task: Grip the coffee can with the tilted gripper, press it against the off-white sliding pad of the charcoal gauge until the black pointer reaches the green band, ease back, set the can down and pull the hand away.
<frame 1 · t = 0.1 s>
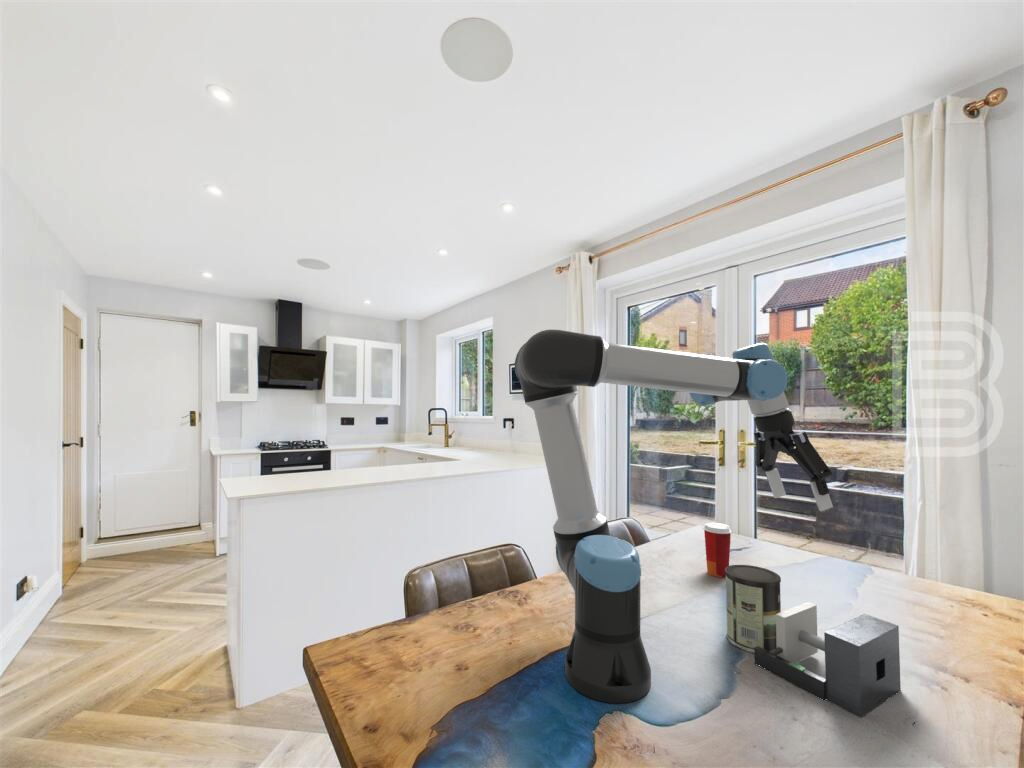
hand: (801, 502, 99), 28 cm above the table, tool tilted 20°, fingers open, 13 cm apart
paper cup: (717, 574, 130), on the table
coffee can: (753, 642, 92), on the table
pressure pad: (819, 647, 80), point 5 cm above the table, slide at 0.0 cm
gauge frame: (828, 677, 80), on the table
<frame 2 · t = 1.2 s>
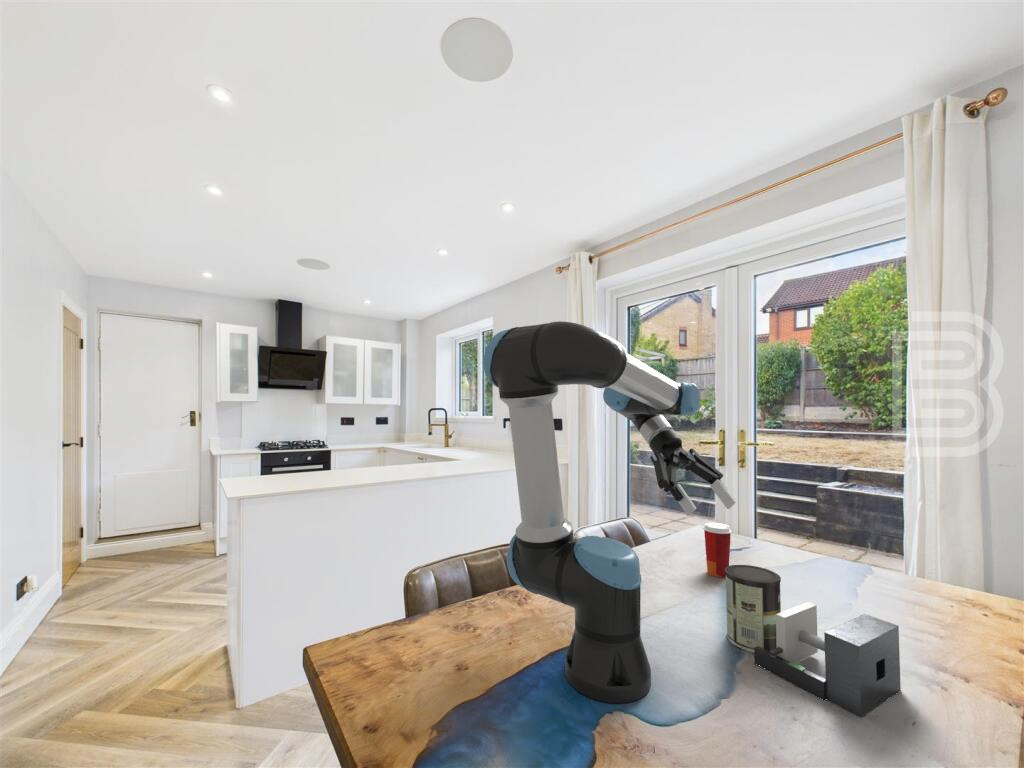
hand: (712, 508, 101), 26 cm above the table, tool tilted 45°, fingers open, 13 cm apart
nothing on the table moved.
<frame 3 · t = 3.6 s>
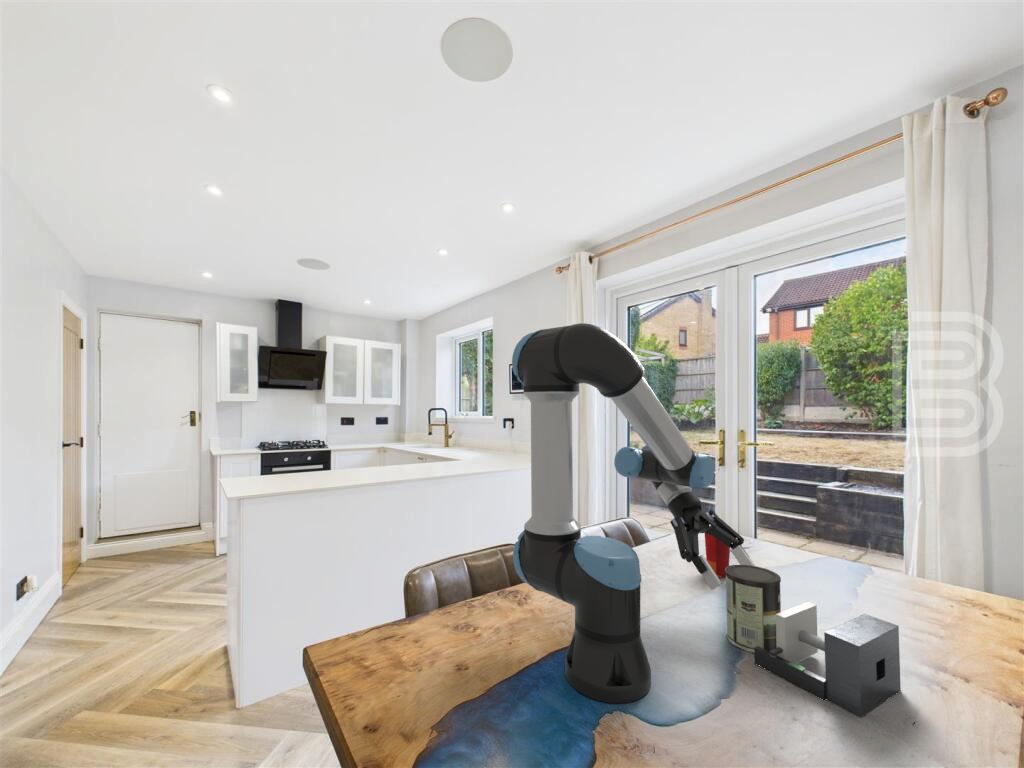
hand: (736, 580, 98), 11 cm above the table, tool tilted 45°, fingers open, 13 cm apart
nothing on the table moved.
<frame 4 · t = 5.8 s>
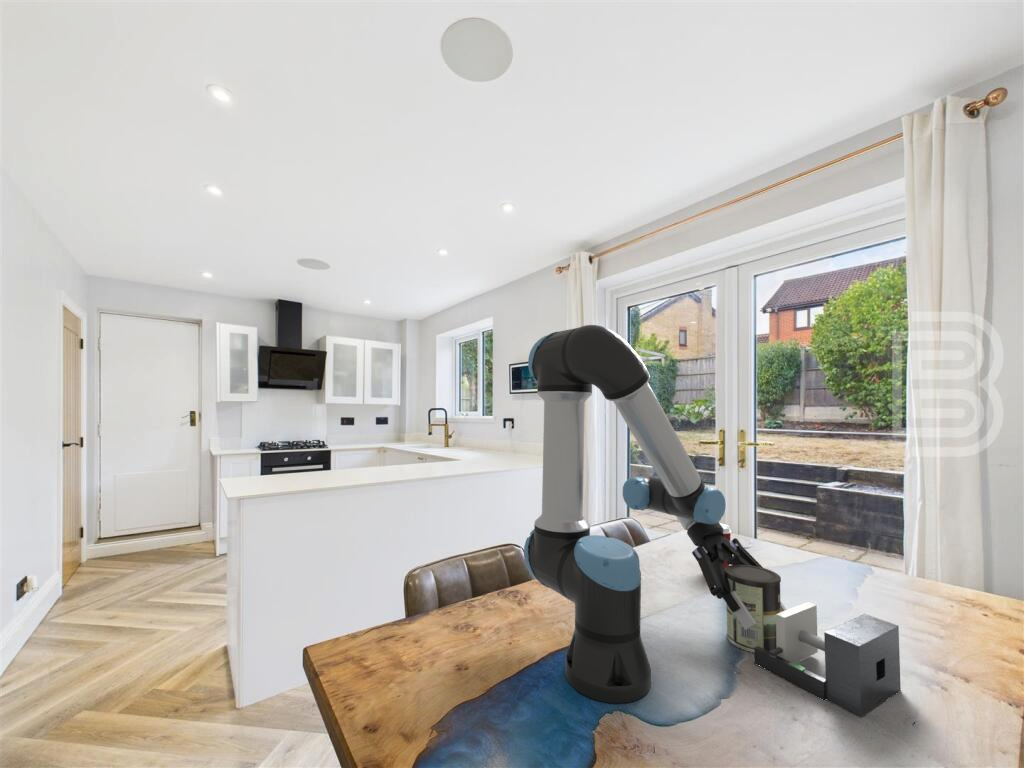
hand: (767, 620, 90), 6 cm above the table, tool tilted 45°, fingers closed on coffee can, 10 cm apart
coffee can: (753, 642, 92), on the table, touching gripper
everything else where it was.
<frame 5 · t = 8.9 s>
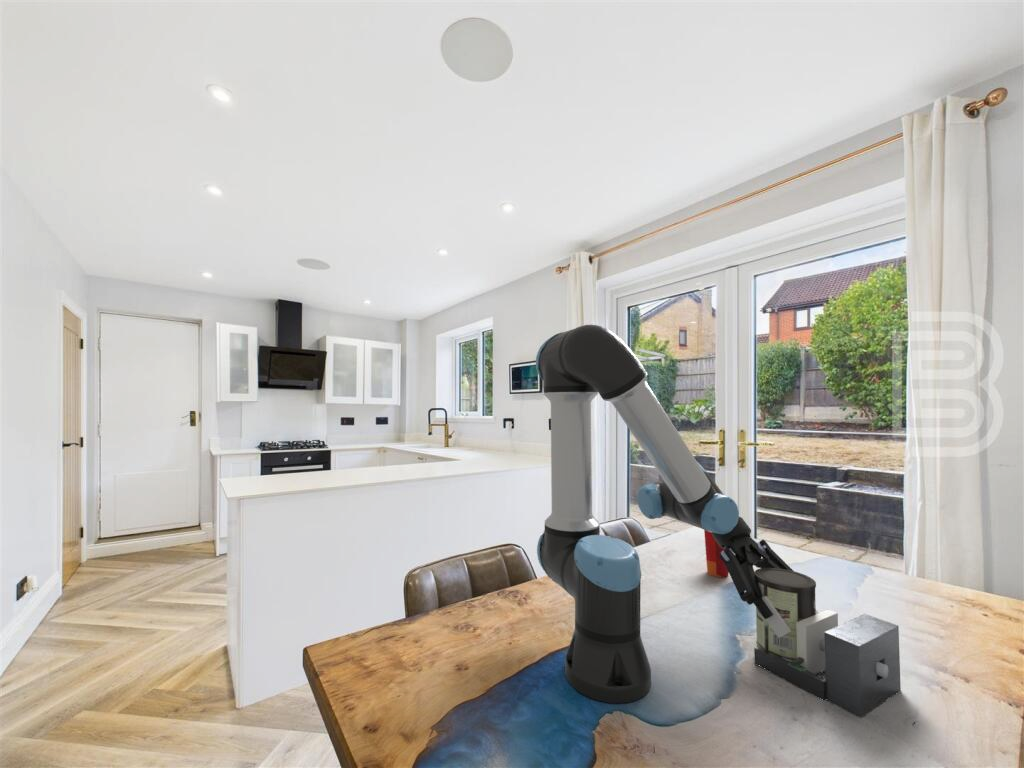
hand: (801, 627, 84), 7 cm above the table, tool tilted 45°, fingers closed on coffee can, 10 cm apart
coffee can: (785, 651, 87), point 1 cm above the table, touching gripper
pressure pad: (842, 657, 77), point 5 cm above the table, slide at 3.7 cm
everything else where it was.
when the fingers open (6 cm above the table, at t = 10.9 s): coffee can stays where it is, on the table.
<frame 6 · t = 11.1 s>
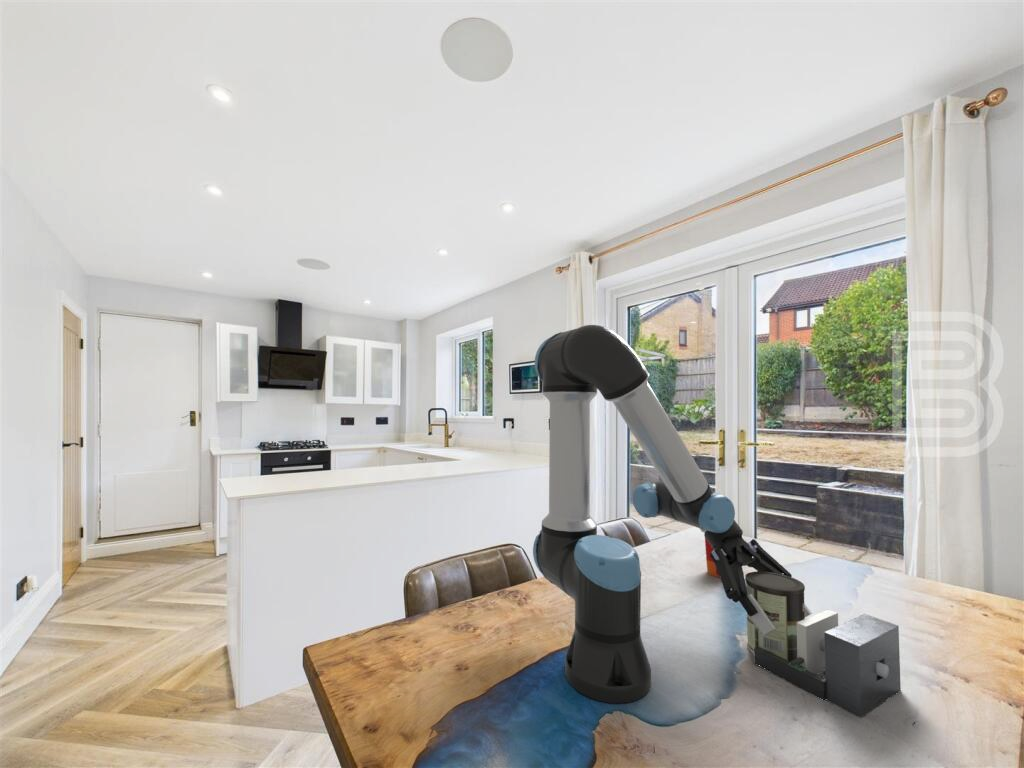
hand: (788, 624, 86), 7 cm above the table, tool tilted 45°, fingers open, 12 cm apart
coffee can: (775, 653, 89), on the table
everything else where it was.
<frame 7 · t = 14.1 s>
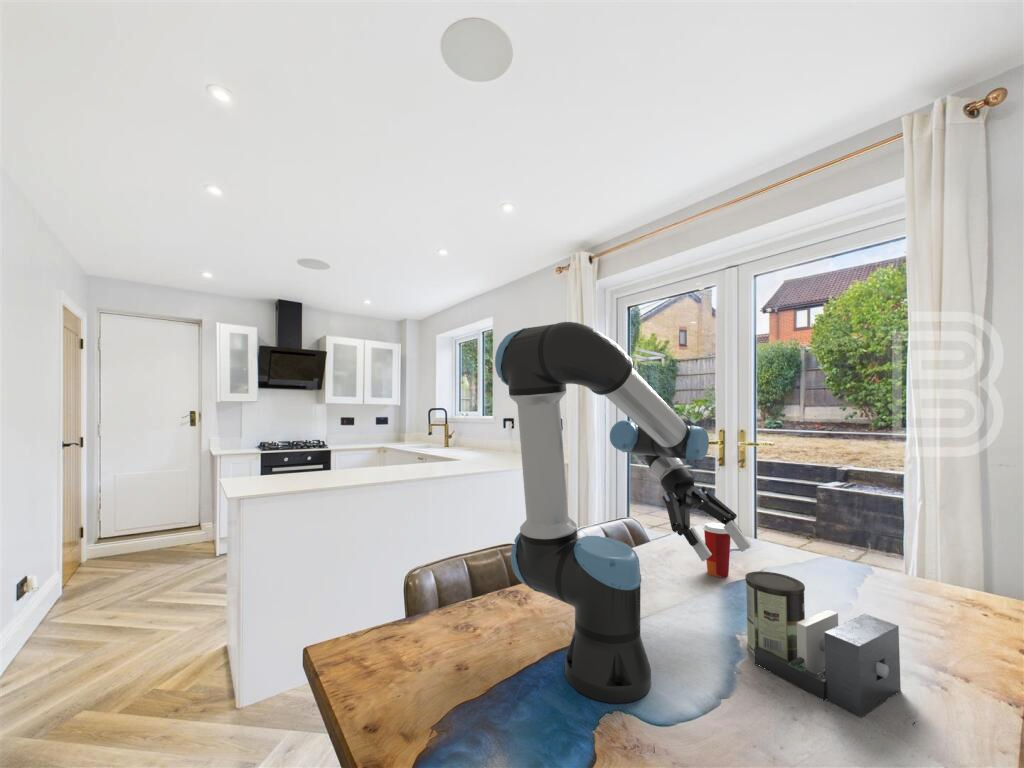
hand: (727, 553, 98), 16 cm above the table, tool tilted 45°, fingers open, 13 cm apart
nothing on the table moved.
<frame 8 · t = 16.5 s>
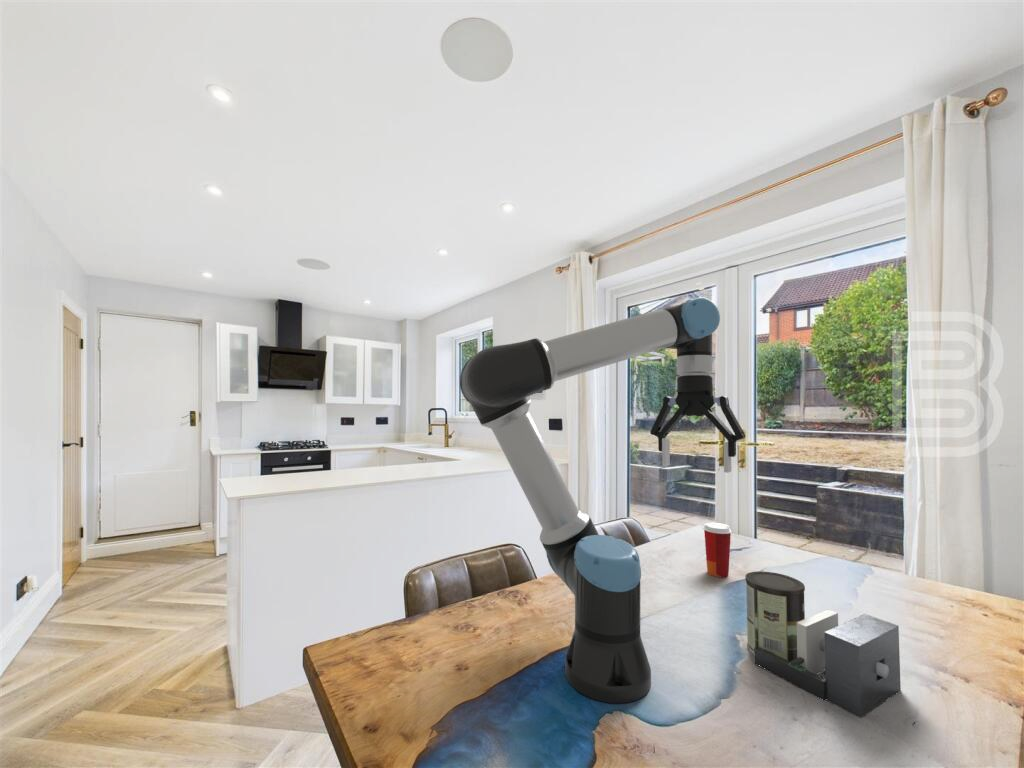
hand: (695, 468, 101), 35 cm above the table, tool pointing down, fingers open, 13 cm apart
nothing on the table moved.
at the end: pressure pad slide at 3.7 cm; coffee can tilted 0°; the gripper is holding nothing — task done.
